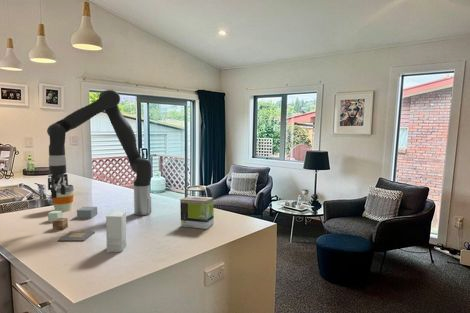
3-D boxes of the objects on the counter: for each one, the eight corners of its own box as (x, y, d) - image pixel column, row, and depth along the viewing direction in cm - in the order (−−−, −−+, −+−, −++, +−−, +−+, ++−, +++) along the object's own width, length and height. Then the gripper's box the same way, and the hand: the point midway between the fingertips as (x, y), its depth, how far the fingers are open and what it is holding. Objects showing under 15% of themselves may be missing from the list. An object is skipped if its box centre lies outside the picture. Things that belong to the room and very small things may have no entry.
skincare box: (112, 245, 138) (111, 210, 137) (127, 244, 139) (126, 210, 137) (106, 252, 130) (104, 215, 129) (122, 252, 131) (121, 215, 129)
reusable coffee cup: (46, 211, 192) (45, 187, 191) (64, 206, 204) (63, 184, 203) (61, 213, 188) (60, 189, 186) (79, 208, 199) (78, 185, 198)
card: (95, 232, 155) (95, 230, 155) (84, 241, 143) (84, 239, 143) (70, 232, 155) (70, 230, 155) (57, 241, 143) (57, 239, 143)
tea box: (214, 224, 169) (214, 197, 168) (206, 229, 160) (206, 201, 158) (189, 221, 174) (188, 194, 173) (180, 226, 165) (179, 198, 163)
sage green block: (62, 219, 177) (62, 210, 176) (57, 222, 172) (57, 213, 171) (53, 219, 176) (53, 210, 176) (48, 222, 172) (47, 213, 171)
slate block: (97, 215, 186) (97, 206, 186) (91, 218, 178) (90, 210, 178) (83, 214, 186) (83, 206, 186) (77, 218, 178) (76, 210, 178)
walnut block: (67, 227, 163) (67, 217, 162) (62, 230, 158) (62, 220, 158) (58, 227, 163) (57, 217, 162) (52, 230, 158) (52, 220, 157)
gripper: (57, 166, 150) (58, 199, 152) (72, 162, 165) (73, 193, 166) (41, 165, 150) (43, 199, 152) (57, 162, 164) (58, 193, 166)
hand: (58, 196), depth 159 cm, fingers open, 8 cm apart
